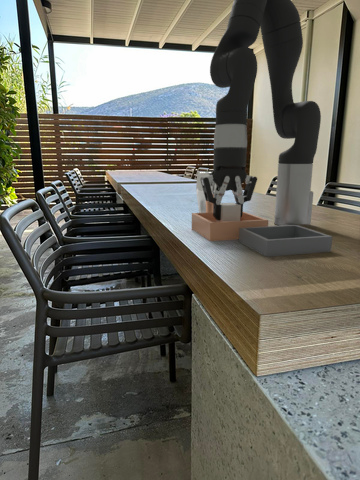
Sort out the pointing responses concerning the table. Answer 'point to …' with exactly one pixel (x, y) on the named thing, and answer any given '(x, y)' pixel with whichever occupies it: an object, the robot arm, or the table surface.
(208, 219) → the terracotta tray
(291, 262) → the table surface
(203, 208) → the silver metal tumbler
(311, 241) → the charcoal bin
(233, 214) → the off-white cube block
